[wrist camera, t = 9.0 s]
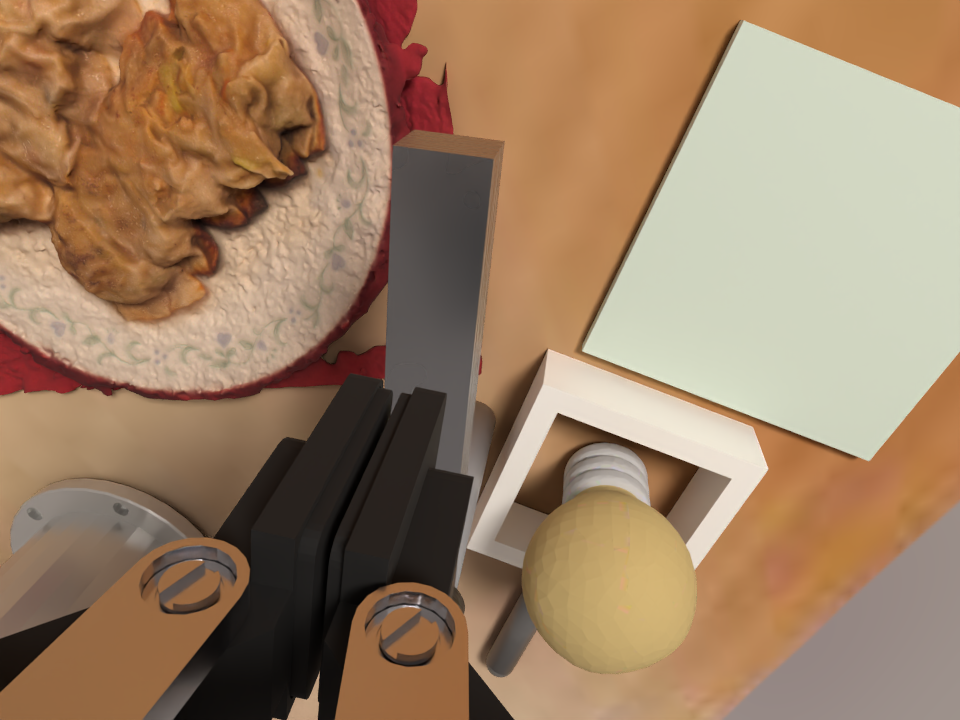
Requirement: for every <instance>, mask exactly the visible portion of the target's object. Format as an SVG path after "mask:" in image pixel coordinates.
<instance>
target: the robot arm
mask: <svg viewBox="0 0 960 720" xmlns="http://www.w3.org/2000/svg"><path fill="white" fill-rule="evenodd" d="M392 400H393V391H392V390H388V389H384V388H383V381H382V380H381V379H377V378H372V377H367V376H362V375H357V374H353V373H350V374H349V375H348V377H347V378H346V380H345V381H344V383H343V385H342V386H341V388H340V389H339V391H338V392H337V394H336V396H335V397H334V399H333V400H332V402H331V404H330V405H329V407H328V408H327V410H326V412H325V413H324V415H323V416H322V418H321V419H320V421H319V423H318V424H317V426H316V427H315V429H314V431H313V432H312V434H311V435H310V437H309V438H308V440H307V441H303V440H298V439H294V438H289V437H287V438H284V439H283V440H282V441H281V442H280V443H279V444H278V446H277V447H276V449H275V450H274V452H273V453H272V454H271V456H270V457H269V459H268V460H267V462H266V463H265V465H264V466H263V467H262V469H261V470H260V472H259V473H258V475H257V476H256V478H255V479H254V480H253V482H252V483H251V485H250V486H249V488H248V489H247V491H246V492H245V493H244V495H243V496H242V498H241V499H240V501H239V502H238V504H237V505H236V506H235V508H234V509H233V511H232V512H231V514H230V515H229V517H228V518H227V519H226V521H225V522H224V524H223V525H222V527H221V528H220V530H219V531H218V532H217V534H216V535H215V537H214V538H213V539H212V538H208V537H206V538H205V537H204V536H203V535H202V533H201V532H199V531H198V530H197V529H196V528H195V527H194V526H193V525H192V524H191V523H190V522H189V521H188V520H187V519H186V518H185V517H183V516H182V515H181V514H179V513H178V512H177V511H175V510H174V509H173V508H171V507H170V506H168V505H167V504H165V503H163V502H161V501H160V500H158V499H156V498H154V497H152V496H151V495H149V494H147V493H144V492H142V491H139V490H137V489H134V488H132V487H129V486H126V485H122V484H118V483H114V482H111V481H106V480H98V479H88V478H81V479H66V480H63V481H59V482H56V483H52V484H49V485H48V486H46V487H44V488H43V489H41V490H39V491H37V492H36V493H35V494H34V495H33V496H32V497H31V498H29V499H28V500H27V501H26V502H25V503H24V504H23V505H22V506H21V507H20V509H19V510H18V512H17V513H16V515H15V516H14V519H13V522H12V526H11V530H10V536H11V548H12V552H13V555H12V556H11V557H10V558H9V559H8V560H7V561H6V562H5V563H4V564H3V565H2V566H1V567H0V720H272V718H277V719H281V720H287V718H288V715H289V713H290V710H291V708H292V705H293V703H294V700H295V698H296V697H297V698H302V699H306V700H307V699H308V698H309V696H310V694H311V692H312V689H313V687H314V684H315V682H316V679H317V677H318V674H319V671H320V678H319V690H318V702H319V712H318V720H514V719H513V718H512V716H511V715H510V714H509V712H508V711H507V710H506V709H505V707H504V706H503V705H502V704H501V702H500V701H499V700H498V699H497V697H496V696H495V695H494V694H493V692H492V691H491V690H490V689H489V687H488V686H487V685H486V683H485V682H484V681H483V680H482V678H481V677H480V676H479V675H478V673H477V672H476V671H475V670H474V668H473V667H472V666H471V665H470V663H469V662H468V629H467V624H466V619H465V616H464V615H463V613H462V611H461V610H460V608H459V606H458V605H457V604H456V603H455V602H454V601H453V600H452V599H451V598H450V597H449V596H450V591H451V586H452V582H453V577H454V572H455V568H456V563H457V559H458V554H459V549H460V544H461V540H462V535H463V530H464V525H465V520H466V515H467V510H468V505H469V500H470V495H471V490H472V485H473V480H474V477H473V476H468V475H464V474H459V473H454V472H449V471H445V470H440V469H435V467H436V461H437V455H438V449H439V443H440V437H441V431H442V425H443V419H444V412H445V406H446V400H447V393H444V392H439V391H434V390H430V389H425V388H420V387H415V389H414V391H413V393H412V394H408V393H403V392H402V393H401V394H400V396H399V398H398V401H397V403H396V405H395V407H394V409H393V411H392V414H391V408H392Z"/></svg>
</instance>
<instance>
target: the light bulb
mask: <svg viewBox="0 0 960 720" xmlns="http://www.w3.org/2000/svg"><path fill="white" fill-rule="evenodd" d="M522 590H523V597H524V601H525V604H526V608H527V611H528V613H529V616H530V618H531V620H532V622H533V624H534V625H535V627H536V629H537V630H538V632H539V634H540V635H541V636H542V637H543V639H544V640H545V641H546V642H547V643H548V645H549V646H550V647H551V648H552V649H553V650H554V651H555V652H556V653H558V654H559V655H560V656H562V657H563V658H565V659H566V660H567V661H569V662H570V663H572V664H573V665H574V666H577V667H579V668H582V669H584V670H587V671H589V672H594V673H600V674H620V673H627V672H632V671H636V670H639V669H643V668H647V667H649V666H651V665H653V664H655V663H656V662H658V661H660V660H662V659H663V658H665V657H667V656H668V655H670V654H671V653H672V652H674V651H675V650H676V649H677V648H678V647H679V646H680V644H681V643H682V642H683V641H684V639H685V637H686V636H687V634H688V632H689V630H690V627H691V625H692V621H693V617H694V613H695V610H696V602H697V583H696V574H695V570H694V566H693V563H692V559H691V556H690V553H689V551H688V549H687V547H686V545H685V543H684V541H683V540H682V538H681V536H680V534H679V533H678V532H677V530H676V529H675V528H674V527H673V526H672V524H671V523H670V522H669V521H668V520H667V519H666V518H665V517H664V516H663V515H662V514H660V513H659V512H658V511H657V510H655V509H654V508H652V507H651V505H650V498H649V488H648V478H647V471H646V468H645V465H644V464H643V462H642V460H641V459H640V458H639V457H638V456H637V455H636V454H635V453H634V452H633V451H631V450H630V449H628V448H626V447H623V446H620V445H618V444H614V443H596V444H592V445H588V446H586V447H583V448H581V449H580V450H578V451H577V452H576V453H574V454H573V456H572V457H571V458H570V459H569V461H568V463H567V465H566V468H565V472H564V485H563V499H562V505H561V506H559V507H558V508H557V509H555V510H554V511H553V512H552V513H550V514H549V515H548V516H547V518H546V519H545V520H544V521H543V522H542V523H541V524H540V526H539V527H538V528H537V530H536V531H535V533H534V535H533V537H532V538H531V541H530V543H529V545H528V547H527V550H526V553H525V557H524V561H523V569H522Z"/></svg>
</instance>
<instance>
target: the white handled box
mask: <svg viewBox="0 0 960 720" xmlns="http://www.w3.org/2000/svg"><path fill="white" fill-rule="evenodd" d="M557 413H560V414H562V415H565V416H568V417H570V418H573V419H575V420H578V421H581V422H583V423H586V424H589V425H591V426H594V427H597V428H599V429H602V430H604V431H607V432H610V433H612V434H615V435H618V436H620V437H623V438H626V439H628V440H631V441H633V442H636V443H639V444H641V445H644V446H647V447H649V448H652V449H655V450H657V451H660V452H662V453H665V454H668V455H670V456H673V457H676V458H678V459H681V460H684V461H686V462H689V463H691V464H694V465H697V466H699V469H698V470H697V472H696V473H695V475H694V476H693V478H692V479H691V481H690V482H689V484H688V485H687V487H686V488H685V490H684V492H683V493H682V495H681V496H680V498H679V499H678V501H677V502H676V504H675V505H674V507H673V508H672V510H671V511H670V513H669V514H668V516H667V517H666V519H667V520H668V521H669V522H670V523H671V524H672V526H673V527H674V528H675V529H676V530H677V532H678V533H679V534H680V536H681V538H682V540H683V541H684V543H685V545H686V547H687V549H688V551H689V553H690V556H691V559H692V563H693V566H694V570H695V569H696V568H697V566H698V565H699V564H700V562H701V561H702V559H703V558H704V557H705V555H706V554H707V553H708V551H709V550H710V548H711V547H712V546H713V544H714V543H715V542H716V540H717V539H718V538H719V536H720V535H721V533H722V532H723V531H724V529H725V528H726V527H727V525H728V524H729V523H730V521H731V520H732V518H733V517H734V516H735V514H736V513H737V512H738V510H739V509H740V508H741V506H742V505H743V503H744V502H745V501H746V499H747V498H748V497H749V495H750V494H751V493H752V491H753V490H754V488H755V487H756V486H757V484H758V483H759V482H760V480H761V479H762V477H763V476H764V475H765V473H766V472H767V471H768V467H767V464H766V461H765V459H764V456H763V453H762V450H761V448H760V445H759V442H758V439H757V437H756V434H755V431H754V428H753V427H752V426H749V425H746V424H744V423H741V422H739V421H736V420H733V419H731V418H728V417H725V416H723V415H720V414H718V413H715V412H712V411H710V410H707V409H705V408H702V407H699V406H697V405H694V404H691V403H689V402H686V401H684V400H681V399H678V398H676V397H673V396H671V395H668V394H665V393H663V392H660V391H657V390H655V389H652V388H650V387H647V386H644V385H642V384H639V383H637V382H634V381H631V380H629V379H626V378H623V377H621V376H618V375H616V374H613V373H610V372H608V371H605V370H603V369H600V368H597V367H595V366H592V365H589V364H587V363H584V362H582V361H579V360H576V359H574V358H571V357H569V356H566V355H563V354H561V353H558V352H555V351H553V350H550V349H548V350H547V352H546V354H545V357H544V359H543V361H542V363H541V365H540V368H539V370H538V372H537V374H536V376H535V378H534V381H533V383H532V385H531V387H530V389H529V392H528V394H527V396H526V398H525V400H524V402H523V405H522V407H521V409H520V411H519V413H518V416H517V418H516V420H515V422H514V424H513V426H512V429H511V431H510V433H509V435H508V437H507V440H506V442H505V444H504V446H503V448H502V450H501V453H500V455H499V457H498V459H497V461H496V464H495V466H494V468H493V470H492V472H491V474H490V477H489V479H488V481H487V483H486V485H485V488H484V490H483V492H482V494H481V496H480V498H479V501H478V497H479V492H480V488H481V484H482V479H483V475H484V471H485V467H486V462H487V458H488V454H489V449H490V445H491V441H492V437H493V432H494V428H495V423H496V418H495V415H494V413H493V411H492V410H491V409H490V408H489V407H488V406H487V405H485V404H484V403H481V402H478V401H475V410H474V419H473V428H472V437H471V446H470V455H469V464H468V473H467V475H468V476H473V477H474V480H473V485H472V490H471V495H470V500H469V505H468V510H467V515H466V520H465V525H464V530H463V535H462V540H461V544H460V549H459V554H458V562H457V571H456V580H455V587H456V589H457V587H458V582H459V578H460V574H461V569H462V565H463V561H464V557H465V552H466V548H468V549H470V550H473V551H476V552H478V553H481V554H484V555H487V556H489V557H492V558H495V559H497V560H500V561H503V562H505V563H508V564H511V565H514V566H516V567H519V568H522V569H523V561H524V557H525V553H526V550H527V547H528V545H529V543H530V541H531V538H532V537H533V535H534V533H535V531H536V530H537V528H538V527H539V526H540V524H541V523H542V522H543V521H544V520H545V519H546V518H547V516H548V515H547V514H544V513H541V512H539V511H536V510H533V509H531V508H528V507H525V506H523V505H520V504H517V503H515V502H514V500H515V498H516V496H517V494H518V492H519V490H520V488H521V486H522V484H523V482H524V480H525V478H526V475H527V473H528V471H529V469H530V467H531V465H532V463H533V461H534V459H535V457H536V455H537V453H538V451H539V449H540V447H541V445H542V443H543V441H544V439H545V437H546V435H547V433H548V431H549V429H550V427H551V425H552V423H553V421H554V419H555V417H556V415H557ZM477 501H478V503H477ZM536 630H537V629H536V627H535V625H534V624H533V622H532V620H531V618H530V616H529V613H528V611H527V608H526V604H525V601H524V597H523V592H522V593H521V595H520V597H519V599H518V601H517V602H516V604H515V606H514V608H513V610H512V611H511V613H510V615H509V617H508V619H507V620H506V622H505V624H504V626H503V628H502V629H501V631H500V633H499V635H498V637H497V638H496V640H495V642H494V644H493V646H492V647H491V649H490V651H489V653H488V655H487V658H486V665H487V668H488V670H489V671H490V673H491V674H493V675H494V676H496V677H505V676H507V675H509V674H510V673H511V672H512V671H513V669H514V667H515V666H516V664H517V662H518V661H519V659H520V657H521V656H522V654H523V652H524V651H525V649H526V647H527V646H528V644H529V642H530V640H531V639H532V637H533V635H534V634H535V632H536Z"/></svg>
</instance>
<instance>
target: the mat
mask: <svg viewBox="0 0 960 720" xmlns="http://www.w3.org/2000/svg"><path fill="white" fill-rule="evenodd" d="M582 351H583V352H585V353H588V354H591V355H593V356H596V357H598V358H601V359H604V360H606V361H609V362H611V363H614V364H617V365H619V366H622V367H625V368H627V369H630V370H632V371H635V372H638V373H640V374H643V375H645V376H648V377H651V378H653V379H656V380H658V381H661V382H664V383H666V384H669V385H672V386H674V387H677V388H679V389H682V390H685V391H687V392H690V393H692V394H695V395H698V396H700V397H703V398H705V399H708V400H711V401H713V402H716V403H719V404H721V405H724V406H726V407H729V408H732V409H734V410H737V411H739V412H742V413H745V414H747V415H750V416H752V417H755V418H758V419H760V420H763V421H766V422H768V423H771V424H773V425H776V426H779V427H781V428H784V429H786V430H789V431H792V432H794V433H797V434H799V435H802V436H805V437H807V438H810V439H813V440H815V441H818V442H820V443H823V444H826V445H828V446H831V447H833V448H836V449H839V450H841V451H844V452H846V453H849V454H852V455H854V456H857V457H860V458H862V459H865V460H867V461H870V460H871V458H872V457H873V456H874V455H875V453H876V452H877V451H878V450H879V449H880V447H881V446H882V445H883V444H884V443H885V441H886V440H887V439H888V438H889V437H890V435H891V434H892V433H893V432H894V430H895V429H896V428H897V427H898V426H899V424H900V423H901V422H902V421H903V420H904V418H905V417H906V416H907V415H908V414H909V412H910V411H911V410H912V409H913V407H914V406H915V405H916V404H917V403H918V401H919V400H920V399H921V398H922V397H923V395H924V394H925V393H926V392H927V391H928V389H929V388H930V387H931V386H932V384H933V383H934V382H935V381H936V380H937V378H938V377H939V376H940V375H941V374H942V372H943V371H944V370H945V369H946V368H947V366H948V365H949V364H950V363H951V361H952V360H953V359H954V358H955V357H956V355H957V354H958V353H959V352H960V108H959V107H957V106H954V105H952V104H949V103H947V102H944V101H942V100H939V99H937V98H934V97H932V96H929V95H927V94H925V93H922V92H920V91H917V90H915V89H912V88H910V87H907V86H905V85H902V84H900V83H897V82H895V81H892V80H890V79H887V78H885V77H882V76H880V75H877V74H875V73H872V72H870V71H867V70H865V69H863V68H860V67H858V66H855V65H853V64H850V63H848V62H845V61H843V60H840V59H838V58H835V57H833V56H830V55H828V54H825V53H823V52H820V51H818V50H815V49H813V48H810V47H808V46H805V45H803V44H801V43H798V42H796V41H793V40H791V39H788V38H786V37H783V36H781V35H778V34H776V33H773V32H771V31H768V30H766V29H763V28H761V27H758V26H756V25H753V24H751V23H748V22H746V21H743V20H740V22H739V24H738V26H737V28H736V30H735V32H734V34H733V36H732V38H731V40H730V42H729V44H728V46H727V49H726V51H725V53H724V55H723V57H722V59H721V61H720V63H719V65H718V67H717V69H716V71H715V73H714V75H713V77H712V79H711V81H710V83H709V85H708V88H707V90H706V92H705V94H704V96H703V98H702V100H701V102H700V104H699V106H698V108H697V110H696V112H695V114H694V116H693V118H692V120H691V122H690V125H689V127H688V129H687V131H686V133H685V135H684V137H683V139H682V141H681V143H680V145H679V147H678V149H677V151H676V153H675V155H674V157H673V159H672V162H671V164H670V166H669V168H668V170H667V172H666V174H665V176H664V178H663V180H662V182H661V184H660V186H659V188H658V190H657V192H656V194H655V196H654V198H653V201H652V203H651V205H650V207H649V209H648V211H647V213H646V215H645V217H644V219H643V221H642V223H641V225H640V227H639V229H638V231H637V233H636V235H635V238H634V240H633V242H632V244H631V246H630V248H629V250H628V252H627V254H626V256H625V258H624V260H623V262H622V264H621V266H620V268H619V270H618V272H617V274H616V277H615V279H614V281H613V283H612V285H611V287H610V289H609V291H608V293H607V295H606V297H605V299H604V301H603V303H602V305H601V307H600V309H599V311H598V314H597V316H596V318H595V320H594V322H593V324H592V326H591V328H590V330H589V332H588V334H587V336H586V338H585V340H584V342H583V344H582Z"/></svg>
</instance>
